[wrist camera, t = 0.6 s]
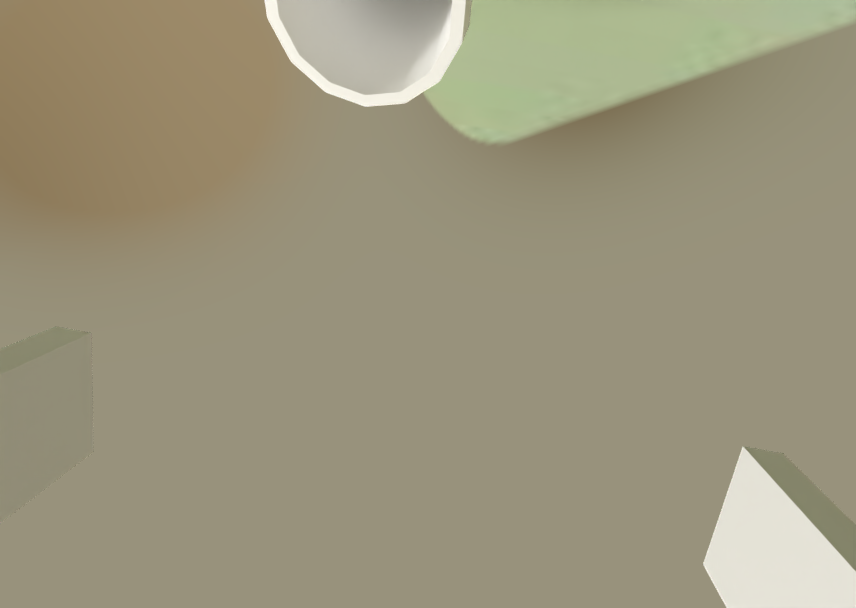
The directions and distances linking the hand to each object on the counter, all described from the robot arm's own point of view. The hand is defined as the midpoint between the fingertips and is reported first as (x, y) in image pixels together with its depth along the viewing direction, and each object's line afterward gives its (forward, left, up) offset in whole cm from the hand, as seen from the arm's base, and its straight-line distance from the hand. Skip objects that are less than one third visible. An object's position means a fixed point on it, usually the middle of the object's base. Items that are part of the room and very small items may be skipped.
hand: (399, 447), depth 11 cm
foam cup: (-4, -5, -33) cm, 34 cm away
